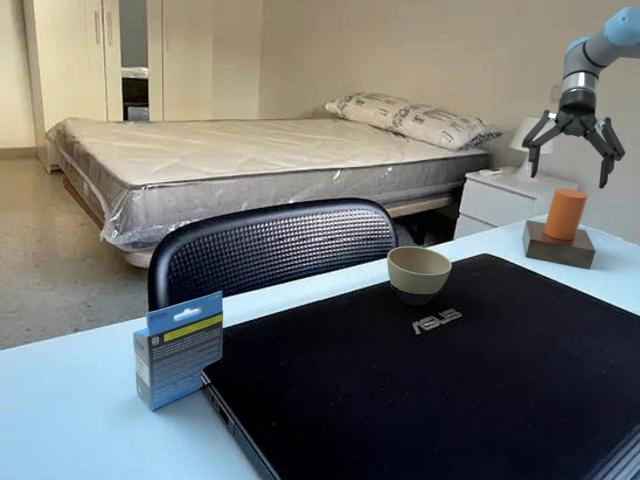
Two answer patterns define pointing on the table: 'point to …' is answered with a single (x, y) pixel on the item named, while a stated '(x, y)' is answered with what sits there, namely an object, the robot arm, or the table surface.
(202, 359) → the label tape box
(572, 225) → the orange drum
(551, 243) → the grey shallow square box
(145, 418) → the table surface
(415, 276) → the beige bowl
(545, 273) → the table surface
